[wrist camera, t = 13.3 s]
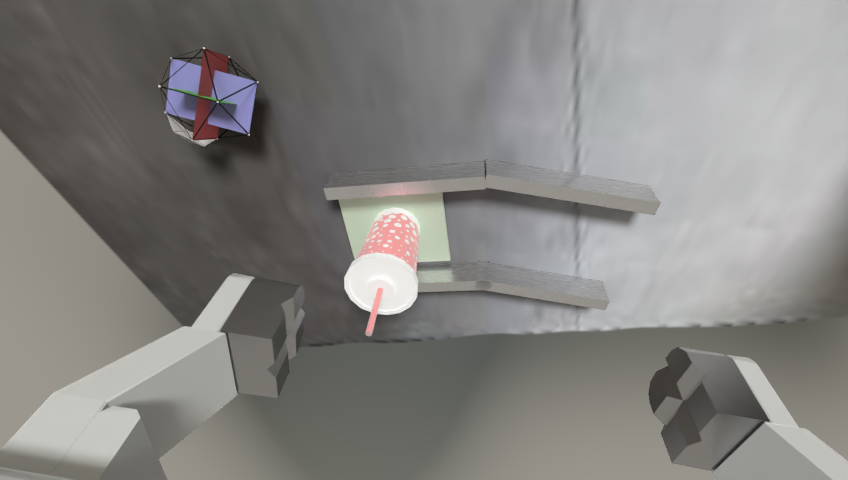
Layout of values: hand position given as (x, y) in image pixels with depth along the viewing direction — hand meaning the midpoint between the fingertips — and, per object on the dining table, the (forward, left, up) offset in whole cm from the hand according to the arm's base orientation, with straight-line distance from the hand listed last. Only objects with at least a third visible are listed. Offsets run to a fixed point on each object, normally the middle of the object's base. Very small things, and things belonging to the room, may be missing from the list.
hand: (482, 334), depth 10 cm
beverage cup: (+4, +17, -29) cm, 34 cm away
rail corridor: (-3, +17, -29) cm, 34 cm away
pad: (+5, +17, -29) cm, 34 cm away
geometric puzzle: (+20, +6, -29) cm, 36 cm away
